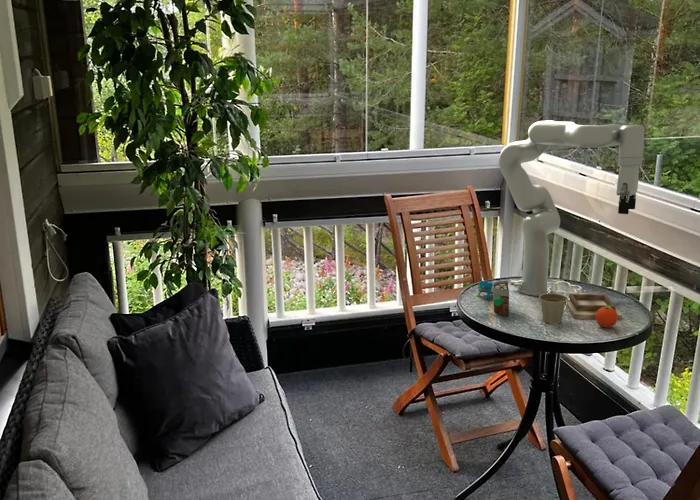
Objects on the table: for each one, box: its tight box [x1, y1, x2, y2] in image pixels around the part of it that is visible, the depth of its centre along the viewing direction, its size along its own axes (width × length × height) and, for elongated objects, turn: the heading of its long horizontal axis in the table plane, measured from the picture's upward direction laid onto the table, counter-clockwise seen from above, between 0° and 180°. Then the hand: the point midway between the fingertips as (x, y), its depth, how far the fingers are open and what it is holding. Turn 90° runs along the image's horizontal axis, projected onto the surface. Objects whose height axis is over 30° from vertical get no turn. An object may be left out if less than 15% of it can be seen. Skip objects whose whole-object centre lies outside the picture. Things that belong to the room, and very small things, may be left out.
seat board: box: [566, 293, 623, 320], centre depth 225 cm, size 16×20×4 cm
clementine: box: [595, 306, 619, 328], centre depth 208 cm, size 8×7×7 cm
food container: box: [491, 280, 510, 317], centre depth 225 cm, size 12×6×10 cm, turn 168°
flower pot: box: [538, 292, 568, 325], centre depth 214 cm, size 9×9×9 cm
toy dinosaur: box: [477, 280, 494, 300], centre depth 241 cm, size 11×6×10 cm
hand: (626, 211), depth 216 cm, fingers open, 9 cm apart
